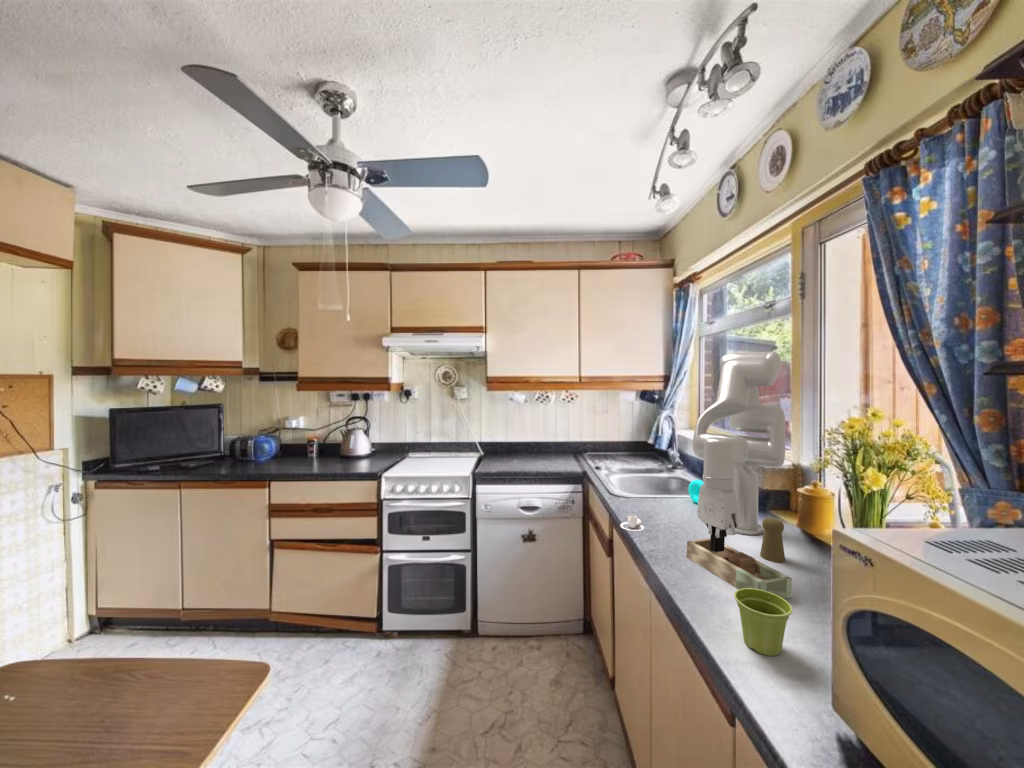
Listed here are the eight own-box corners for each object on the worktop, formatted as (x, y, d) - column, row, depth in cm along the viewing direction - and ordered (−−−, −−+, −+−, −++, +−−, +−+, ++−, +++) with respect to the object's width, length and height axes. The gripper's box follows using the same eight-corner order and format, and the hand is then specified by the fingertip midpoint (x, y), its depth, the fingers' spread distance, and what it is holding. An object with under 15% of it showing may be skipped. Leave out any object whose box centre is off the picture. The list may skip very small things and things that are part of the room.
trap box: (686, 556, 113) (687, 541, 112) (712, 553, 115) (712, 537, 115) (761, 603, 90) (761, 583, 89) (791, 597, 92) (791, 578, 92)
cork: (761, 551, 117) (762, 514, 116) (786, 556, 113) (786, 518, 113) (758, 558, 112) (759, 519, 112) (784, 564, 108) (784, 525, 108)
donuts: (725, 505, 158) (725, 481, 158) (706, 508, 154) (706, 483, 154) (704, 498, 167) (705, 475, 167) (686, 501, 164) (686, 477, 163)
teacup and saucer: (635, 522, 141) (635, 510, 141) (651, 529, 134) (651, 518, 134) (615, 525, 138) (615, 513, 138) (630, 533, 130) (630, 521, 130)
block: (729, 569, 101) (729, 553, 101) (741, 567, 102) (741, 552, 102) (742, 576, 97) (742, 560, 97) (754, 574, 99) (754, 558, 99)
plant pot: (744, 659, 72) (745, 612, 72) (726, 627, 81) (727, 585, 81) (802, 666, 70) (803, 618, 70) (776, 632, 79) (777, 590, 79)
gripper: (687, 477, 113) (686, 541, 113) (729, 491, 99) (728, 564, 99) (708, 476, 115) (707, 538, 115) (753, 489, 101) (751, 561, 101)
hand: (717, 550), depth 107 cm, fingers closed
